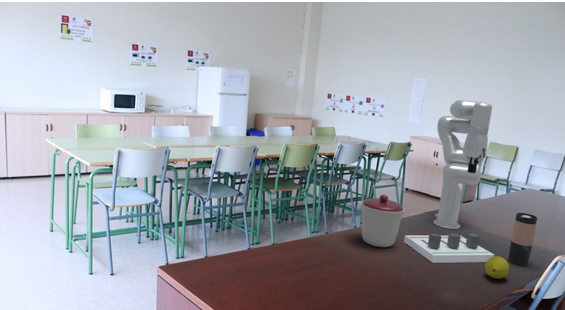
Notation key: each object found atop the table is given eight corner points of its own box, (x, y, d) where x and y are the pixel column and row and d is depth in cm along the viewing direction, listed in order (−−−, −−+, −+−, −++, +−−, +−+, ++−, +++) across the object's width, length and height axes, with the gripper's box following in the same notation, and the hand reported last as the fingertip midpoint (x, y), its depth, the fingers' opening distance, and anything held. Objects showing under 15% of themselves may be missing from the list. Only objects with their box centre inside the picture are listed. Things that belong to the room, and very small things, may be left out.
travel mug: (526, 261, 187) (535, 214, 183) (530, 268, 179) (539, 219, 176) (506, 257, 189) (514, 211, 186) (508, 263, 182) (517, 216, 178)
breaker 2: (446, 245, 187) (448, 233, 186) (454, 245, 187) (456, 233, 187) (451, 248, 184) (453, 236, 183) (458, 248, 185) (460, 236, 184)
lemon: (489, 270, 172) (493, 250, 171) (511, 278, 167) (515, 258, 166) (477, 277, 165) (481, 256, 164) (499, 285, 160) (503, 264, 158)
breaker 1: (427, 245, 184) (429, 233, 183) (435, 245, 185) (437, 233, 184) (431, 248, 181) (433, 236, 181) (439, 248, 182) (441, 236, 181)
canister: (367, 232, 204) (373, 187, 200) (405, 243, 194) (412, 196, 190) (348, 242, 189) (355, 193, 186) (389, 254, 179) (396, 203, 176)
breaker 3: (465, 245, 189) (467, 233, 188) (472, 245, 190) (474, 233, 189) (470, 248, 186) (472, 236, 185) (477, 247, 187) (479, 236, 186)
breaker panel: (403, 242, 196) (404, 235, 195) (459, 242, 203) (460, 235, 203) (432, 262, 175) (433, 255, 174) (493, 261, 182) (494, 254, 182)
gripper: (460, 128, 202) (453, 168, 205) (482, 133, 188) (475, 176, 191) (474, 129, 204) (468, 169, 207) (497, 134, 190) (490, 177, 193)
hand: (471, 172), depth 199 cm, fingers closed
